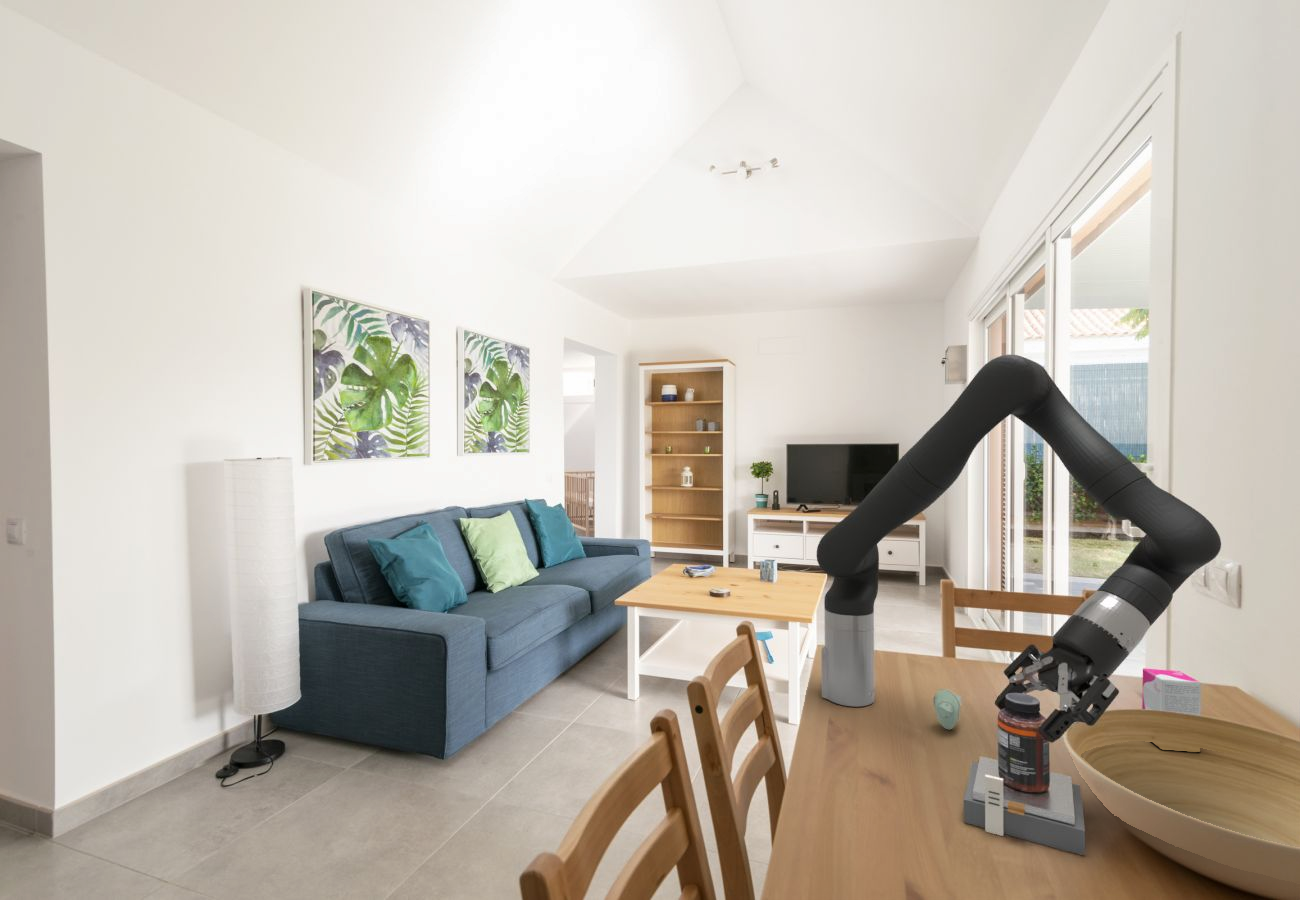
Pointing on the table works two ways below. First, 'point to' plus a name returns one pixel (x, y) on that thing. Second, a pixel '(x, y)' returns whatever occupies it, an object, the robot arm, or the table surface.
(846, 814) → the table surface
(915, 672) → the table surface
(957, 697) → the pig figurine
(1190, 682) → the supplement box
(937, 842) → the table surface
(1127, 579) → the robot arm
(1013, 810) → the scale pan
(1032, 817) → the scale base
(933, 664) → the table surface
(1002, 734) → the supplement bottle
